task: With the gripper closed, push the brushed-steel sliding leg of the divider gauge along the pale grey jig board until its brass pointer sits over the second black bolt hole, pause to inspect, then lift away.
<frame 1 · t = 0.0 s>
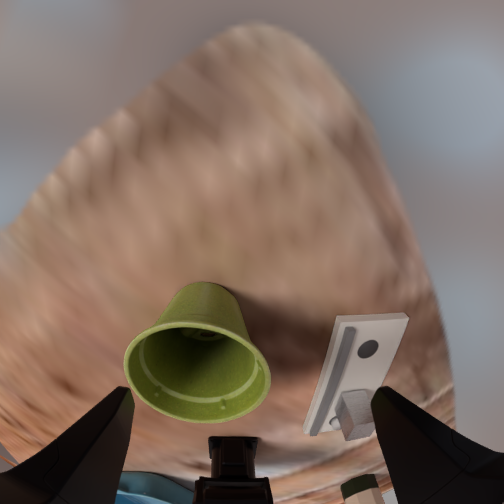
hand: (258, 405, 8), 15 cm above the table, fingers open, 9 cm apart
slider: (358, 414, 25), point 4 cm above the table, slide at 0.0 cm
wine bottle: (356, 481, 41), on the table
casserole dish: (166, 494, 40), on the table
plant pot: (205, 311, 24), on the table
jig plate: (350, 379, 28), on the table
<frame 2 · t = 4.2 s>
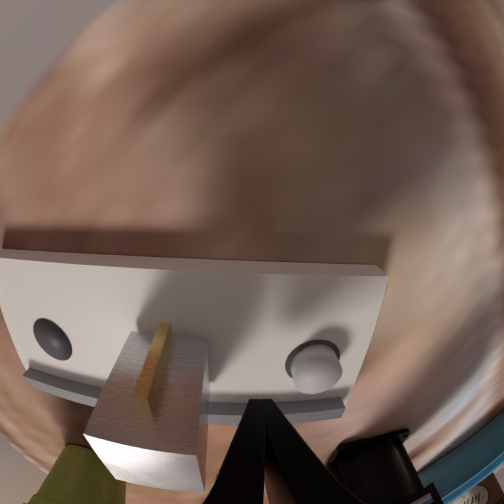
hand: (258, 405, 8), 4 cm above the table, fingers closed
slider: (159, 404, 8), point 4 cm above the table, slide at 1.3 cm, touching gripper
casserole dish: (474, 442, 24), on the table
wooden container: (460, 476, 33), on the table
plant pot: (96, 459, 16), on the table
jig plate: (162, 341, 11), on the table
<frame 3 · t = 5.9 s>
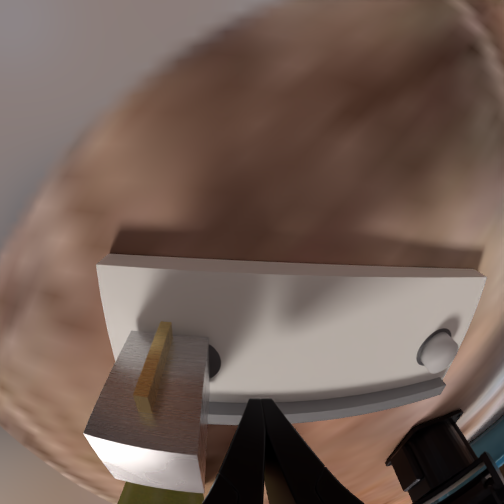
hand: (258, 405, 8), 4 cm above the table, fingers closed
slider: (159, 404, 8), point 4 cm above the table, slide at 8.3 cm, touching gripper
casserole dish: (494, 430, 24), on the table
plant pot: (167, 475, 17), on the table
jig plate: (316, 345, 12), on the table
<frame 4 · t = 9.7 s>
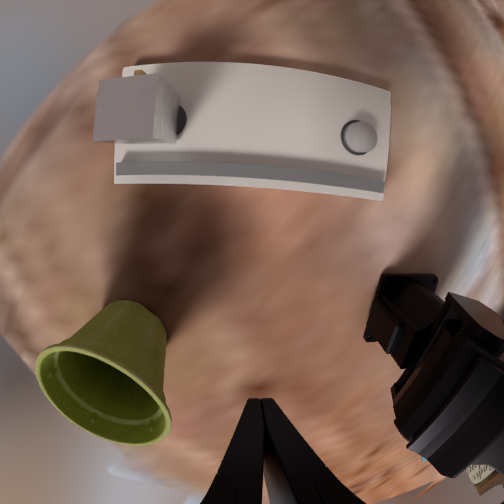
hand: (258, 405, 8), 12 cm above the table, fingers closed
slider: (142, 108, 12), point 4 cm above the table, slide at 8.3 cm
wooden container: (475, 429, 38), on the table
plant pot: (134, 329, 21), on the table
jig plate: (256, 125, 17), on the table
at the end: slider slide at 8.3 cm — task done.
